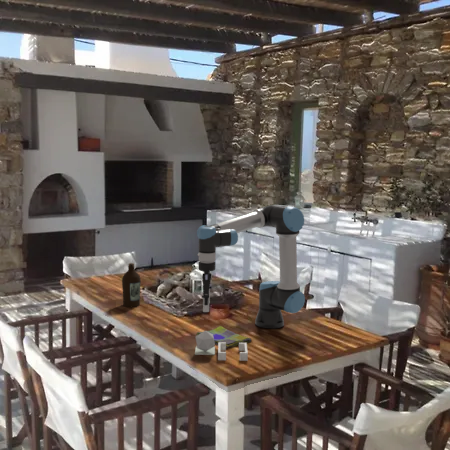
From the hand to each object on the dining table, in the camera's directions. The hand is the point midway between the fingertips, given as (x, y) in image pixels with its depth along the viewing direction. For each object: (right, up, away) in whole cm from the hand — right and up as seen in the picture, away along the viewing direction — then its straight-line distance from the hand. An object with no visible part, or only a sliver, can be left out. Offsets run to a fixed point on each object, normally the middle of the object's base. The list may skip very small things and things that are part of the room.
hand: (206, 307), depth 257 cm
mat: (-1, -21, +3) cm, 21 cm away
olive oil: (-46, -10, +73) cm, 86 cm away
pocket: (+12, -21, -1) cm, 24 cm away
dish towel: (+8, -19, +20) cm, 29 cm away
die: (-1, -20, 0) cm, 20 cm away
